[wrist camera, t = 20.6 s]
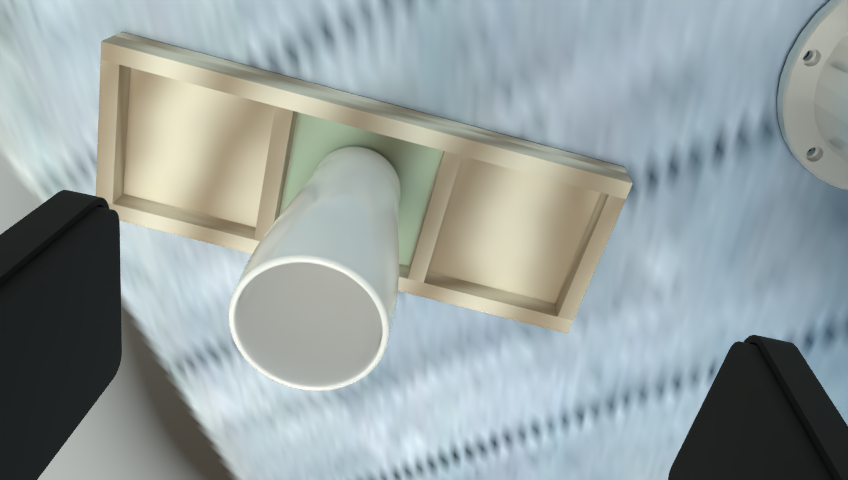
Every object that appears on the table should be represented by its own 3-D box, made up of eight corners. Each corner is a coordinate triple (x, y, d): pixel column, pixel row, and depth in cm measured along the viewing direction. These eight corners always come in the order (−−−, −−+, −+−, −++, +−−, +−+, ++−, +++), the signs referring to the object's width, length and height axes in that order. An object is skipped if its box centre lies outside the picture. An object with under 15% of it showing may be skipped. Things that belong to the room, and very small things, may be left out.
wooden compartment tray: (624, 166, 41) (632, 183, 39) (563, 311, 46) (567, 333, 44) (122, 32, 40) (101, 41, 37) (114, 197, 44) (95, 214, 42)
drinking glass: (347, 254, 44) (297, 417, 31) (277, 171, 42) (190, 308, 28) (436, 199, 42) (424, 348, 29) (368, 108, 40) (320, 224, 26)
